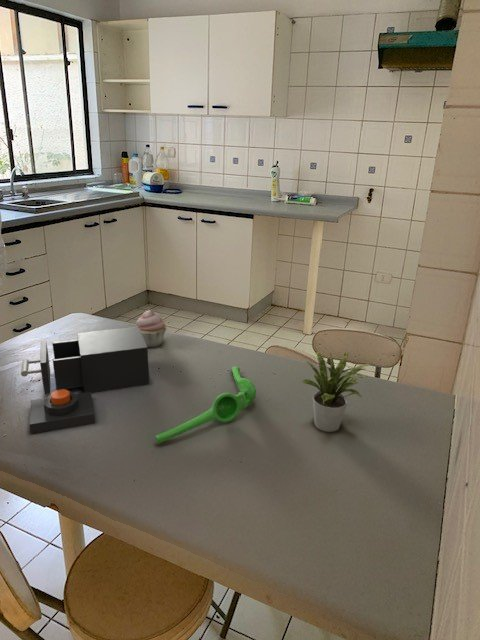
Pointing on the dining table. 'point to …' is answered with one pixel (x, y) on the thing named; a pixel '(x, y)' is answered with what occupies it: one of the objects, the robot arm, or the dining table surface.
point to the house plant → (332, 392)
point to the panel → (61, 413)
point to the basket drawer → (58, 365)
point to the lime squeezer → (218, 408)
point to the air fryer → (113, 359)
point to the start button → (60, 397)
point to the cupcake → (151, 328)
